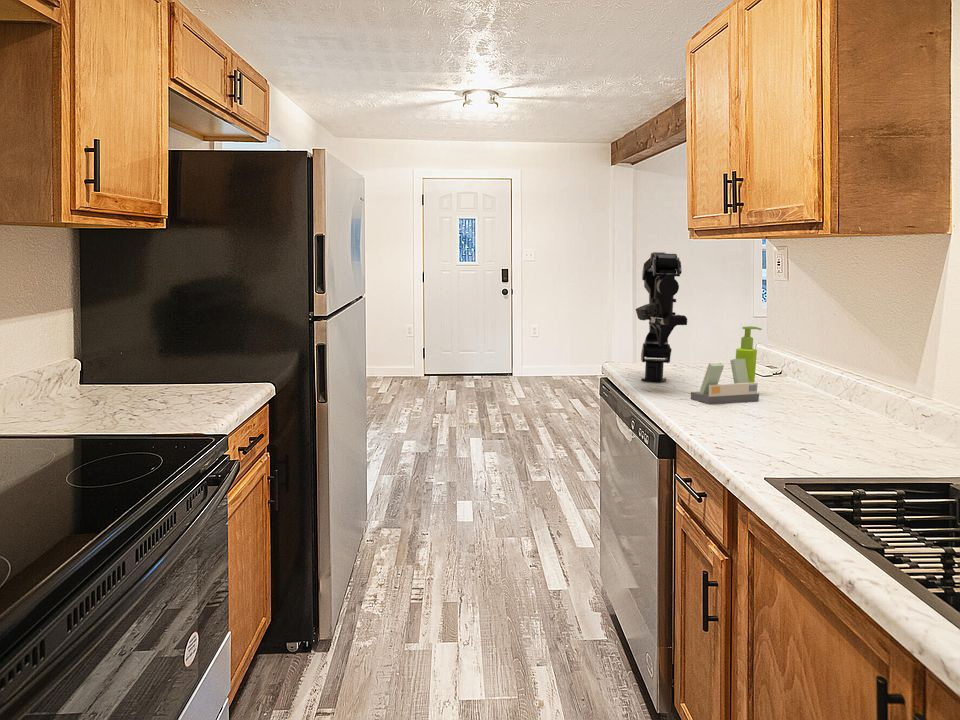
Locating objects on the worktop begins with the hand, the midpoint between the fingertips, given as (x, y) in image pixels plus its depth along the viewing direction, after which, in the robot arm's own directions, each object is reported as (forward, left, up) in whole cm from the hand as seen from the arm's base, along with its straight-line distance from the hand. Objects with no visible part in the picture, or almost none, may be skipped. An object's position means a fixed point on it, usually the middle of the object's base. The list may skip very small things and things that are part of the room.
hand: (661, 346), depth 249 cm
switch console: (+8, +22, -13) cm, 27 cm away
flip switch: (+13, +18, -11) cm, 25 cm away
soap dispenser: (-9, +24, -13) cm, 29 cm away
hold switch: (+3, +26, -11) cm, 28 cm away
